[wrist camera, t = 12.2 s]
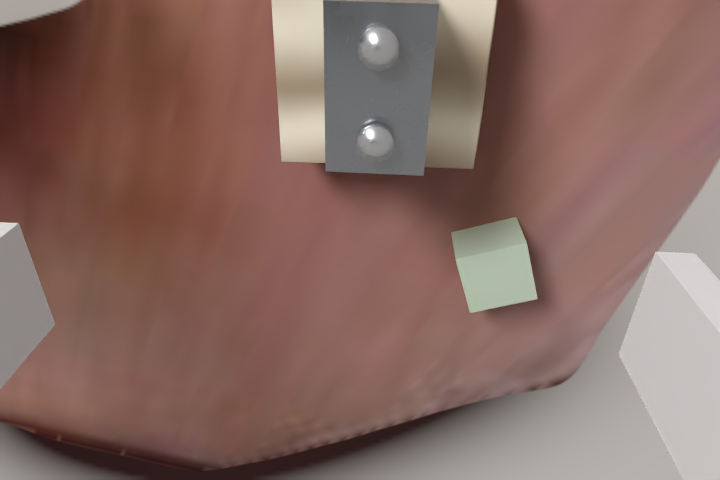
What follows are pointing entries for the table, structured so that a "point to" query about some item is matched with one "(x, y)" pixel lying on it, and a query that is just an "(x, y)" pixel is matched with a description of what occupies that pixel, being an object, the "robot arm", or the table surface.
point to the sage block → (494, 265)
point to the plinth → (448, 94)
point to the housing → (378, 84)
